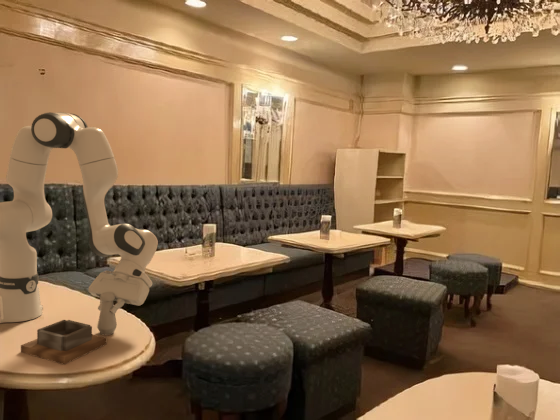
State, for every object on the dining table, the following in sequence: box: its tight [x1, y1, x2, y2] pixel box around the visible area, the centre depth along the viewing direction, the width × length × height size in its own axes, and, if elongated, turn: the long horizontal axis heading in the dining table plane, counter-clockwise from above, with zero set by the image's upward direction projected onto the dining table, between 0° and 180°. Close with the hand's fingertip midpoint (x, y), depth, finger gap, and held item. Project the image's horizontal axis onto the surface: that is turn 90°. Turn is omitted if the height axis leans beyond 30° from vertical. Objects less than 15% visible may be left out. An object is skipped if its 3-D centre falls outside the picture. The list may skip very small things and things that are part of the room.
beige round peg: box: [96, 292, 118, 336], centre depth 154 cm, size 6×6×13 cm
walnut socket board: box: [20, 319, 107, 365], centre depth 141 cm, size 16×16×6 cm
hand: (106, 311), depth 153 cm, fingers closed on beige round peg, 3 cm apart
